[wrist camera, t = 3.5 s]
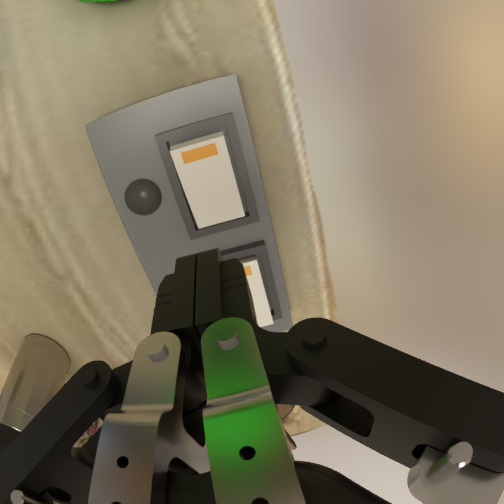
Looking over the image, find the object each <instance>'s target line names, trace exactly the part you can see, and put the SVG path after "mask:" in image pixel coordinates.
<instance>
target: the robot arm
mask: <svg viewBox="0 0 504 504" xmlns="http://www.w3.org/2000/svg"><path fill="white" fill-rule="evenodd" d="M155 305H156V307H155V309H154V315H153V321H152V327H151V334H150V336H148V337H147V338H145V339H144V340H143V341H142V342H141V343H140V344H139V345H138V347H137V349H136V351H135V355H134V358H133V360H132V361H130V362H128V363H126V364H124V365H121V366H119V367H117V368H115V369H111V368H110V366H109V365H108V364H107V363H105V362H103V361H92V362H89V363H87V364H85V365H84V366H82V367H81V368H80V369H79V370H78V371H77V372H76V373H75V374H74V375H73V376H72V377H71V379H70V380H69V381H68V382H67V383H66V384H65V385H64V382H65V379H66V375H67V372H68V369H69V365H70V359H69V356H68V355H67V353H66V352H65V350H64V349H63V348H62V347H61V346H60V345H58V344H57V343H56V342H54V341H53V340H51V339H49V338H47V337H44V336H41V335H35V334H33V335H28V336H26V338H25V339H24V341H23V343H22V345H21V347H20V349H19V352H18V354H17V356H16V358H15V360H14V363H13V365H12V367H11V370H10V372H9V375H8V377H7V379H6V382H5V385H4V387H3V390H2V392H1V395H0V504H392V503H390V502H388V501H386V500H384V499H382V498H381V497H379V496H377V495H375V494H373V493H372V492H370V491H369V490H367V489H365V488H363V487H362V486H360V485H359V484H357V483H355V482H353V481H352V480H350V479H349V478H347V477H345V476H344V475H342V474H341V473H339V472H337V471H335V470H333V469H330V468H328V467H325V466H322V465H319V464H315V463H311V462H304V461H295V460H294V457H293V454H292V451H291V447H290V444H289V441H288V438H287V435H286V432H285V429H284V426H283V423H282V419H281V416H280V413H279V410H278V406H277V404H285V405H300V407H301V408H302V409H303V410H305V411H306V412H308V413H310V414H311V415H313V416H314V417H316V418H318V419H319V420H321V421H323V422H324V423H326V424H328V425H330V426H331V427H333V428H335V429H336V430H338V431H340V432H342V433H343V434H345V435H347V436H349V437H351V438H352V439H354V440H356V441H358V442H360V443H362V444H363V445H365V446H367V447H369V448H371V449H373V450H375V451H377V452H379V453H380V454H382V455H384V456H386V457H388V458H390V459H392V460H394V461H396V462H399V463H400V464H403V465H405V466H407V467H409V468H411V469H410V471H409V474H408V479H407V480H408V481H407V482H408V488H409V490H410V492H411V494H412V495H413V496H414V497H415V498H417V499H418V500H420V501H421V502H422V503H423V504H497V502H498V500H499V498H500V496H501V494H502V492H503V489H504V393H503V392H500V391H497V390H495V389H492V388H490V387H487V386H484V385H482V384H479V383H477V382H474V381H472V380H469V379H467V378H464V377H462V376H459V375H457V374H454V373H452V372H449V371H447V370H444V369H442V368H440V367H437V366H434V365H432V364H430V363H428V362H425V361H423V360H421V359H418V358H416V357H413V356H411V355H409V354H406V353H404V352H401V351H399V350H397V349H394V348H392V347H390V346H388V345H385V344H383V343H381V342H378V341H376V340H374V339H371V338H369V337H367V336H365V335H362V334H360V333H358V332H355V331H353V330H351V329H349V328H346V327H344V326H342V325H340V324H337V323H335V322H333V321H331V320H328V319H325V318H309V319H305V320H302V321H300V322H298V323H297V324H295V325H294V326H293V327H292V328H291V329H290V330H289V331H288V332H271V331H267V330H264V329H263V328H261V327H259V326H258V323H257V318H256V313H255V308H254V303H253V298H252V294H251V291H250V287H249V284H248V280H247V277H246V273H245V270H244V266H243V264H242V263H241V262H240V261H239V260H237V259H236V258H233V259H229V260H225V261H223V259H222V256H221V253H220V250H219V248H214V249H210V250H206V251H202V252H198V254H197V253H195V254H191V255H187V256H183V257H179V258H177V259H176V264H175V271H174V273H173V274H169V275H166V276H165V277H164V279H163V280H162V282H161V283H160V285H159V287H158V293H157V298H156V304H155ZM63 385H64V386H63ZM98 417H99V418H100V419H101V420H102V421H103V424H102V425H101V427H100V428H99V429H98V430H97V431H96V432H95V433H94V434H93V436H92V437H91V438H90V439H89V440H88V441H87V442H86V443H85V444H84V445H83V446H81V447H73V445H74V444H75V443H76V442H77V441H78V440H79V439H80V437H81V436H82V435H83V434H84V433H85V432H86V431H87V430H88V429H89V427H90V426H91V425H92V424H93V423H94V422H95V421H96V420H97V419H98Z"/></svg>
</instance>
